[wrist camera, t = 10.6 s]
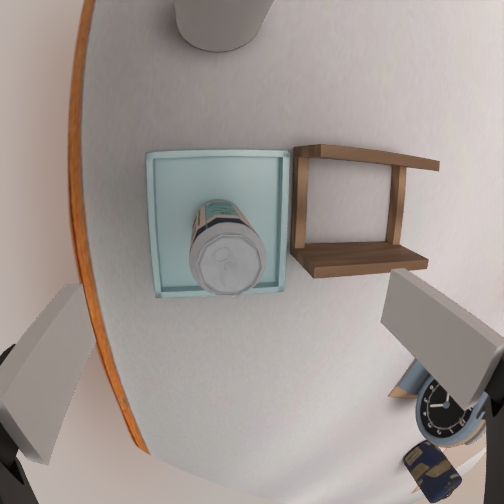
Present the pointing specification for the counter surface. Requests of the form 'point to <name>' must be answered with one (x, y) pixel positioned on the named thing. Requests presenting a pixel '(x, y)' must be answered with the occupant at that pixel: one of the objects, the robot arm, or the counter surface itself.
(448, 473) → the canister
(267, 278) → the tray
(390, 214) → the cradle
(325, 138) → the counter surface
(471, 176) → the counter surface
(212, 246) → the beer can
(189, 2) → the mug
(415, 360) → the alarm clock
